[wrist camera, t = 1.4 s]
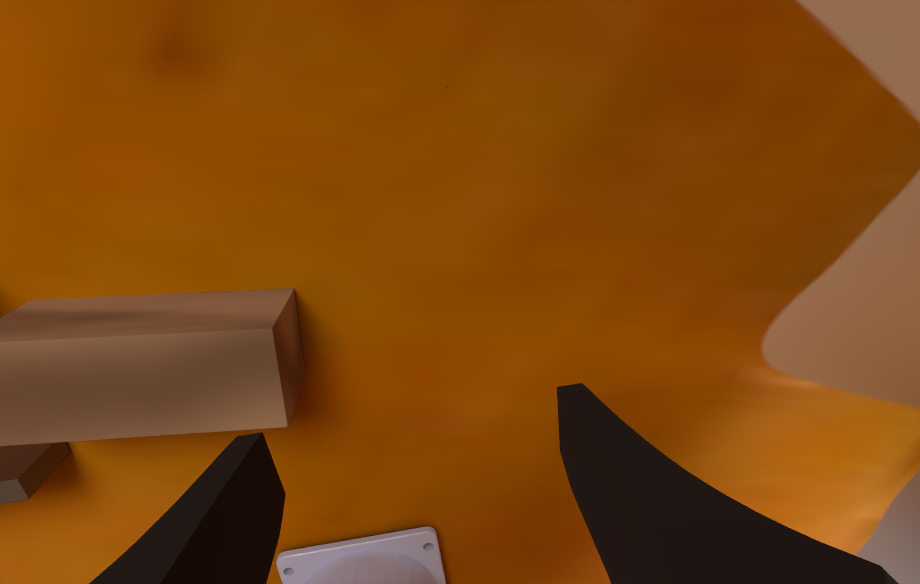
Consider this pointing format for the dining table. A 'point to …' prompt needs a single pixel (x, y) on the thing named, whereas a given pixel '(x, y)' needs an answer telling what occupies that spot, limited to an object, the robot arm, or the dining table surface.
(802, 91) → the dining table surface
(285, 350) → the rail
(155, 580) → the robot arm
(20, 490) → the bracket
